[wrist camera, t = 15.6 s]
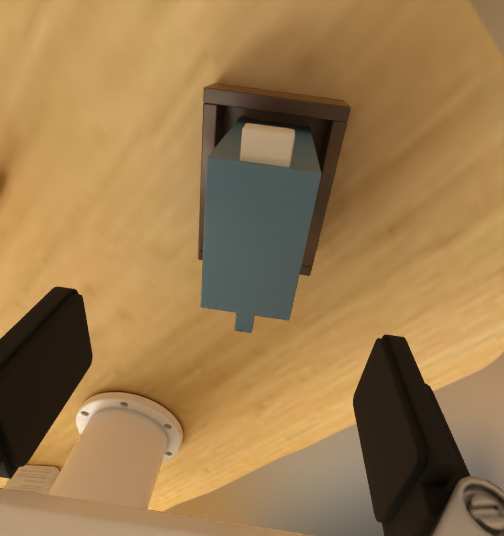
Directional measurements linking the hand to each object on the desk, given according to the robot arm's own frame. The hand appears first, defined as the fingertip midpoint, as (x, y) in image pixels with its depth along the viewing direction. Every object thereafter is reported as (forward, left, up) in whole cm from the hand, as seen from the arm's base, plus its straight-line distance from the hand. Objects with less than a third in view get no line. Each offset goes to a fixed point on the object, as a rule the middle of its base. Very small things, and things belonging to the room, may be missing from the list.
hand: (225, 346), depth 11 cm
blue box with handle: (+1, 0, -15) cm, 15 cm away
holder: (+1, 0, -16) cm, 16 cm away
